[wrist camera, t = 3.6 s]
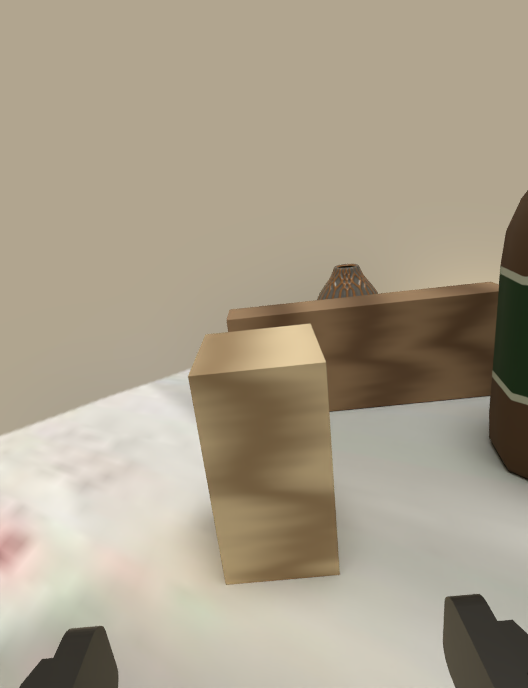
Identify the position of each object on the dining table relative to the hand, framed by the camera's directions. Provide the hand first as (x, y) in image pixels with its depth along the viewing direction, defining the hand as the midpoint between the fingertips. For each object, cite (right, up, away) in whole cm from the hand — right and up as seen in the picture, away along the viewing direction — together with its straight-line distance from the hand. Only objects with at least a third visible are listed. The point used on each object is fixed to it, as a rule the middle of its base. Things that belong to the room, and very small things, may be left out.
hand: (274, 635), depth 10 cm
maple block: (+1, -3, +11) cm, 11 cm away
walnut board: (+8, +3, +23) cm, 25 cm away
